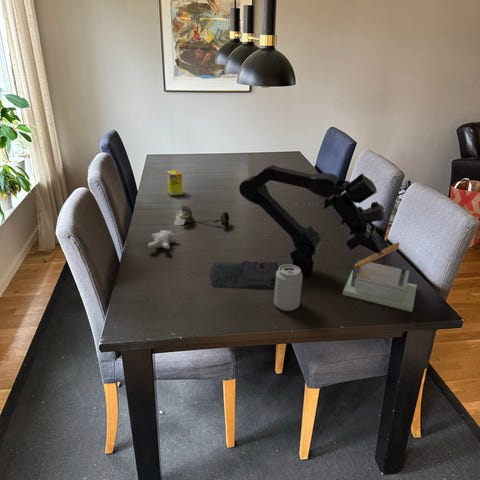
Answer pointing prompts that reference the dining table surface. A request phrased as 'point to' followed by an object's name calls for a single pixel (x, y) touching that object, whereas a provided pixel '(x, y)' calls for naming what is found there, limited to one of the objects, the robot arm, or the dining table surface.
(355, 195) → the robot arm
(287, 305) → the can
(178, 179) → the supplement box
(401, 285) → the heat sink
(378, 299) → the board
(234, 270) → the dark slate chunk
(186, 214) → the artificial flower
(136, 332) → the dining table surface
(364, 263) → the strap
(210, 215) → the dining table surface
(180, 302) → the dining table surface
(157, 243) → the bunny figurine
